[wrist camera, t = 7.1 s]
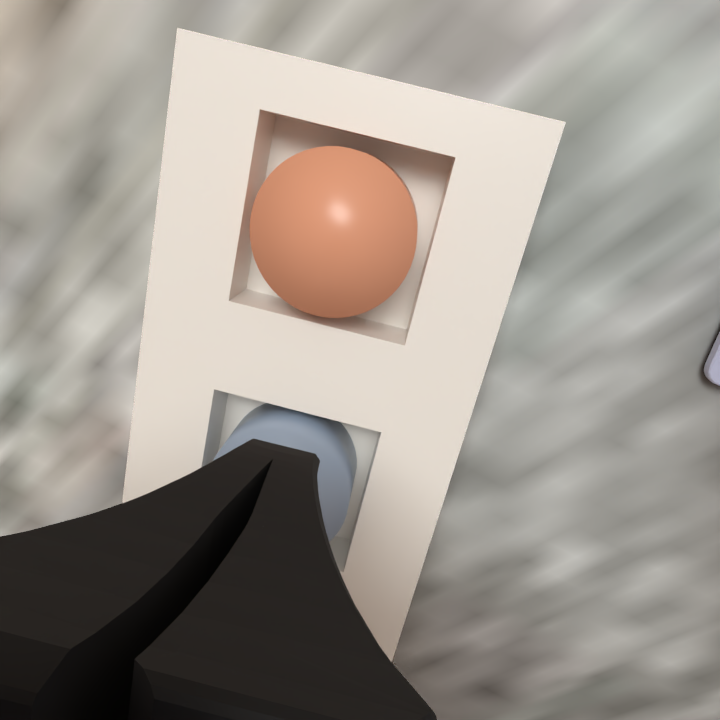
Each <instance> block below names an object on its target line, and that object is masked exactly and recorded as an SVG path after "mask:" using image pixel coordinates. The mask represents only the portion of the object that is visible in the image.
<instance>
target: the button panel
mask: <svg viewBox="0 0 720 720" xmlns="http://www.w3.org/2000/svg"><path fill="white" fill-rule="evenodd" d="M565 123H566V122H563V121H559V120H555V119H551V118H547V117H542V116H538V115H534V114H530V113H526V112H522V111H518V110H514V109H510V108H505V107H501V106H497V105H493V104H489V103H485V102H481V101H477V100H472V99H468V98H464V97H460V96H456V95H452V94H448V93H444V92H440V91H435V90H431V89H427V88H423V87H419V86H415V85H411V84H407V83H403V82H398V81H394V80H390V79H386V78H382V77H378V76H374V75H370V74H365V73H361V72H357V71H353V70H349V69H345V68H341V67H337V66H333V65H328V64H324V63H320V62H316V61H312V60H308V59H304V58H300V57H295V56H291V55H287V54H283V53H279V52H275V51H271V50H267V49H263V48H258V47H254V46H250V45H246V44H242V43H238V42H234V41H230V40H225V39H221V38H217V37H213V36H209V35H205V34H201V33H197V32H193V31H188V30H184V29H180V28H177V35H176V44H175V53H174V61H173V70H172V78H171V87H170V96H169V104H168V113H167V122H166V130H165V139H164V147H163V156H162V165H161V173H160V182H159V190H158V199H157V208H156V216H155V225H154V233H153V242H152V251H151V259H150V268H149V276H148V285H147V294H146V302H145V311H144V319H143V328H142V337H141V345H140V354H139V362H138V371H137V380H136V388H135V397H134V405H133V414H132V423H131V431H130V440H129V449H128V457H127V466H126V474H125V483H124V492H123V500H122V503H125V502H128V501H130V500H133V499H135V498H138V497H140V496H143V495H145V494H147V493H150V492H152V491H154V490H156V489H158V488H160V487H163V486H165V485H167V484H169V483H171V482H173V481H175V480H178V479H180V478H182V477H184V476H186V475H188V474H190V473H192V472H194V471H196V470H198V469H199V468H201V467H203V466H205V465H207V464H209V463H210V462H212V461H213V459H214V458H215V456H216V454H217V453H218V452H219V450H220V449H221V448H222V446H223V445H224V443H225V442H226V441H227V439H228V438H229V436H230V435H231V434H232V432H233V431H234V430H235V428H236V427H237V425H238V424H239V423H240V421H241V420H242V419H243V418H244V417H245V416H246V415H247V414H248V413H249V412H250V411H252V410H253V409H255V408H256V407H258V406H260V405H262V404H265V403H269V404H273V405H277V406H281V407H285V408H289V409H292V410H296V411H300V412H304V413H308V414H312V415H316V416H320V417H324V418H327V419H331V420H335V421H339V422H341V423H342V425H343V426H344V427H345V429H346V430H347V432H348V433H349V435H350V437H351V439H352V441H353V444H354V447H355V451H356V458H357V468H356V474H355V478H354V483H353V487H352V492H351V497H350V501H349V506H348V510H347V514H346V517H345V520H344V523H343V525H342V527H341V528H340V530H339V531H338V533H337V534H336V535H335V537H334V538H333V539H332V540H331V541H330V542H329V543H330V546H331V549H332V552H333V555H334V558H335V561H336V564H337V566H338V569H339V571H340V573H341V576H342V578H343V581H344V583H345V585H346V587H347V589H348V591H349V593H350V595H351V598H352V600H353V602H354V604H355V606H356V607H357V609H358V611H359V612H360V614H361V616H362V617H363V619H364V621H365V623H366V624H367V626H368V628H369V629H370V631H371V633H372V634H373V636H374V638H375V639H376V641H377V643H378V644H379V646H380V647H381V649H382V650H383V651H384V653H385V654H386V656H387V657H388V658H389V660H390V661H391V662H392V660H393V657H394V654H395V651H396V647H397V644H398V641H399V638H400V635H401V632H402V629H403V626H404V623H405V619H406V616H407V613H408V610H409V607H410V604H411V601H412V598H413V595H414V592H415V588H416V585H417V582H418V579H419V576H420V573H421V570H422V567H423V564H424V561H425V557H426V554H427V551H428V548H429V545H430V542H431V539H432V536H433V533H434V529H435V526H436V523H437V520H438V517H439V514H440V511H441V508H442V505H443V502H444V498H445V495H446V492H447V489H448V486H449V483H450V480H451V477H452V474H453V471H454V467H455V464H456V461H457V458H458V455H459V452H460V449H461V446H462V443H463V439H464V436H465V433H466V430H467V427H468V424H469V421H470V418H471V415H472V412H473V408H474V405H475V402H476V399H477V396H478V393H479V390H480V387H481V384H482V381H483V377H484V374H485V371H486V368H487V365H488V362H489V359H490V356H491V353H492V349H493V346H494V343H495V340H496V337H497V334H498V331H499V328H500V325H501V322H502V318H503V315H504V312H505V309H506V306H507V303H508V300H509V297H510V294H511V291H512V287H513V284H514V281H515V278H516V275H517V272H518V269H519V266H520V263H521V259H522V256H523V253H524V250H525V247H526V244H527V241H528V238H529V235H530V232H531V228H532V225H533V222H534V219H535V216H536V213H537V210H538V207H539V204H540V201H541V197H542V194H543V191H544V188H545V185H546V182H547V179H548V176H549V173H550V169H551V166H552V163H553V160H554V157H555V154H556V151H557V148H558V145H559V142H560V138H561V135H562V132H563V129H564V126H565ZM323 146H341V147H346V148H352V149H355V150H358V151H361V152H365V153H368V154H371V155H373V156H375V157H377V158H379V159H380V160H382V161H384V162H385V163H387V164H388V165H389V166H390V167H391V168H392V169H394V170H395V171H396V172H397V173H398V175H399V176H400V177H401V178H402V179H403V181H404V182H405V184H406V185H407V187H408V189H409V191H410V193H411V195H412V198H413V201H414V204H415V207H416V212H417V221H418V230H417V244H416V250H415V255H414V258H413V261H412V264H411V267H410V269H409V271H408V273H407V275H406V277H405V279H404V280H403V282H402V283H401V285H400V286H399V287H398V289H397V290H396V291H395V292H394V293H393V294H392V295H391V296H390V297H389V298H388V299H387V300H385V301H384V302H383V303H381V304H380V305H378V306H377V307H375V308H373V309H371V310H369V311H367V312H364V313H362V314H359V315H355V316H350V317H344V318H326V317H320V316H315V315H312V314H309V313H306V312H303V311H301V310H299V309H297V308H295V307H293V306H292V305H290V304H289V303H287V302H286V301H284V300H283V299H282V298H281V297H279V296H278V295H277V294H276V293H275V292H274V291H273V290H272V289H271V287H270V286H269V285H268V283H267V282H266V281H265V279H264V278H263V276H262V274H261V273H260V271H259V269H258V267H257V264H256V262H255V259H254V256H253V252H252V249H251V242H250V227H249V226H250V217H251V212H252V207H253V204H254V201H255V198H256V196H257V193H258V191H259V190H260V188H261V186H262V184H263V183H264V181H265V180H266V179H267V177H268V176H269V175H270V174H271V172H272V171H273V170H274V169H275V168H276V167H277V166H279V165H280V164H281V163H282V162H284V161H285V160H286V159H288V158H290V157H291V156H293V155H295V154H297V153H300V152H302V151H304V150H308V149H312V148H315V147H323Z"/></svg>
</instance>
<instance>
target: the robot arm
mask: <svg viewBox="0 0 720 720" xmlns="http://www.w3.org/2000/svg"><path fill="white" fill-rule="evenodd" d="M704 373H705V376H706V377H707V378H708V379H709V380H710V381H711V382H713V383H714V384H717V385H719V386H720V332H719V334H718V336H717V339H716V341H715V343H714V345H713V347H712V350H711V352H710V354H709V356H708V359H707V361H706V363H705V367H704ZM319 464H320V460H319V458H318V457H317V455H316V454H315V453H311V452H307V451H303V450H299V449H294V448H290V447H286V446H282V445H278V444H274V443H270V442H266V441H262V440H258V439H254V438H253V439H251V440H249V441H247V442H246V443H244V444H242V445H240V446H238V447H237V448H235V449H233V450H231V451H230V452H228V453H226V454H224V455H223V456H221V457H219V458H217V459H216V460H214V461H212V462H210V463H209V464H207V465H205V466H203V467H201V468H199V469H198V470H196V471H194V472H192V473H190V474H188V475H186V476H184V477H182V478H180V479H178V480H175V481H173V482H171V483H169V484H167V485H165V486H163V487H160V488H158V489H156V490H154V491H152V492H150V493H147V494H145V495H143V496H140V497H138V498H135V499H133V500H130V501H128V502H125V503H122V504H119V505H116V506H114V507H111V508H108V509H105V510H102V511H99V512H96V513H93V514H90V515H87V516H83V517H79V518H76V519H72V520H68V521H64V522H61V523H57V524H53V525H49V526H46V527H42V528H38V529H34V530H30V531H26V532H21V533H16V534H12V535H7V536H2V537H0V720H437V719H436V715H435V714H434V712H433V710H432V709H431V708H430V707H429V706H428V705H427V703H426V702H425V701H424V700H423V699H422V698H421V696H420V695H419V694H418V693H417V692H416V691H415V689H414V688H413V687H412V686H411V685H410V684H409V683H408V681H407V680H406V679H405V678H404V677H403V676H402V674H401V673H400V672H399V671H398V670H397V669H396V667H395V666H394V665H393V664H392V662H391V661H390V660H389V658H388V657H387V656H386V654H385V653H384V651H383V650H382V649H381V647H380V646H379V644H378V643H377V641H376V639H375V638H374V636H373V634H372V633H371V631H370V629H369V628H368V626H367V624H366V623H365V621H364V619H363V617H362V616H361V614H360V612H359V611H358V609H357V607H356V606H355V604H354V602H353V600H352V598H351V595H350V593H349V591H348V589H347V587H346V585H345V583H344V581H343V578H342V576H341V573H340V571H339V569H338V566H337V564H336V561H335V558H334V555H333V552H332V549H331V546H330V543H329V540H328V536H327V533H326V529H325V525H324V521H323V517H322V511H321V506H320V500H319V493H318V481H317V473H318V468H319Z"/></svg>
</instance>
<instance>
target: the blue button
mask: <svg viewBox="0 0 720 720" xmlns="http://www.w3.org/2000/svg"><path fill="white" fill-rule="evenodd" d="M253 438H254V439H258V440H262V441H266V442H270V443H274V444H278V445H282V446H286V447H290V448H294V449H299V450H303V451H307V452H311V453H315V454H316V455H317V457H318V458H319V460H320V464H319V468H318V473H317V481H318V493H319V500H320V506H321V511H322V517H323V521H324V525H325V529H326V533H327V536H328V540H329V542H330V541H331V540H332V539H333V538H334V537H335V535H336V534H337V533H338V531H339V530H340V528H341V527H342V525H343V523H344V520H345V517H346V514H347V510H348V506H349V501H350V497H351V492H352V487H353V483H354V478H355V474H356V468H357V458H356V451H355V447H354V444H353V441H352V439H351V437H350V435H349V433H348V432H347V430H346V429H345V427H344V426H343V425H342V423H341V422H339V421H335V420H331V419H327V418H324V417H320V416H316V415H312V414H308V413H304V412H300V411H296V410H292V409H289V408H285V407H281V406H277V405H273V404H269V403H265V404H262V405H260V406H258V407H256V408H255V409H253V410H252V411H250V412H249V413H248V414H247V415H246V416H245V417H244V418H243V419H242V420H241V421H240V423H239V424H238V425H237V427H236V428H235V430H234V431H233V432H232V434H231V435H230V436H229V438H228V439H227V441H226V442H225V443H224V445H223V446H222V448H221V449H220V450H219V452H218V453H217V454H216V456H215V458H214V459H213V461H214V460H216V459H217V458H219V457H221V456H223V455H224V454H226V453H228V452H230V451H231V450H233V449H235V448H237V447H238V446H240V445H242V444H244V443H246V442H247V441H249V440H251V439H253Z"/></svg>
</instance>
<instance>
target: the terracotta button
mask: <svg viewBox="0 0 720 720" xmlns="http://www.w3.org/2000/svg"><path fill="white" fill-rule="evenodd" d="M249 227H250V242H251V249H252V252H253V256H254V259H255V262H256V264H257V267H258V269H259V271H260V273H261V274H262V276H263V278H264V279H265V281H266V282H267V283H268V285H269V286H270V287H271V289H272V290H273V291H274V292H275V293H276V294H277V295H278V296H279V297H281V298H282V299H283V300H284V301H286V302H287V303H289V304H290V305H292V306H293V307H295V308H297V309H299V310H301V311H303V312H306V313H309V314H312V315H315V316H320V317H326V318H344V317H350V316H355V315H359V314H362V313H364V312H367V311H369V310H371V309H373V308H375V307H377V306H378V305H380V304H381V303H383V302H384V301H385V300H387V299H388V298H389V297H390V296H391V295H392V294H393V293H394V292H395V291H396V290H397V289H398V287H399V286H400V285H401V283H402V282H403V280H404V279H405V277H406V275H407V273H408V271H409V269H410V267H411V264H412V261H413V258H414V255H415V250H416V244H417V230H418V221H417V212H416V207H415V204H414V201H413V198H412V195H411V193H410V191H409V189H408V187H407V185H406V184H405V182H404V181H403V179H402V178H401V177H400V176H399V175H398V173H397V172H396V171H395V170H394V169H392V168H391V167H390V166H389V165H388V164H387V163H385V162H384V161H382V160H380V159H379V158H377V157H375V156H373V155H371V154H368V153H365V152H361V151H358V150H355V149H352V148H346V147H341V146H323V147H315V148H312V149H308V150H304V151H302V152H300V153H297V154H295V155H293V156H291V157H290V158H288V159H286V160H285V161H284V162H282V163H281V164H280V165H279V166H277V167H276V168H275V169H274V170H273V171H272V172H271V174H270V175H269V176H268V177H267V179H266V180H265V181H264V183H263V184H262V186H261V188H260V190H259V191H258V193H257V196H256V198H255V201H254V204H253V207H252V212H251V217H250V226H249Z"/></svg>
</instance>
